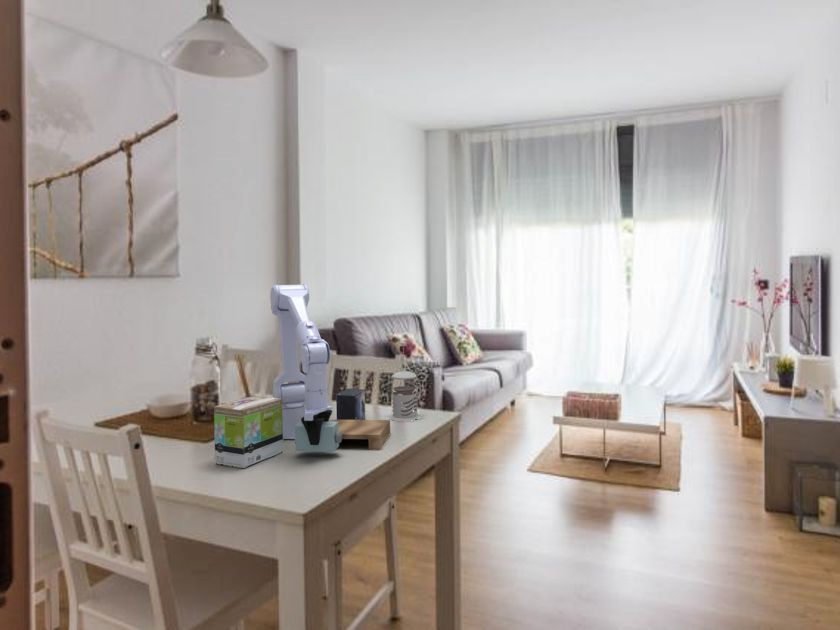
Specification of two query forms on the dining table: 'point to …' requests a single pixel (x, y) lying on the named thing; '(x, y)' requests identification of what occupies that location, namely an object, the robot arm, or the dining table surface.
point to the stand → (365, 430)
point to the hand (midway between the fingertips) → (317, 441)
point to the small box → (351, 404)
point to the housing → (327, 438)
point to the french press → (404, 396)
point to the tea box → (248, 431)
